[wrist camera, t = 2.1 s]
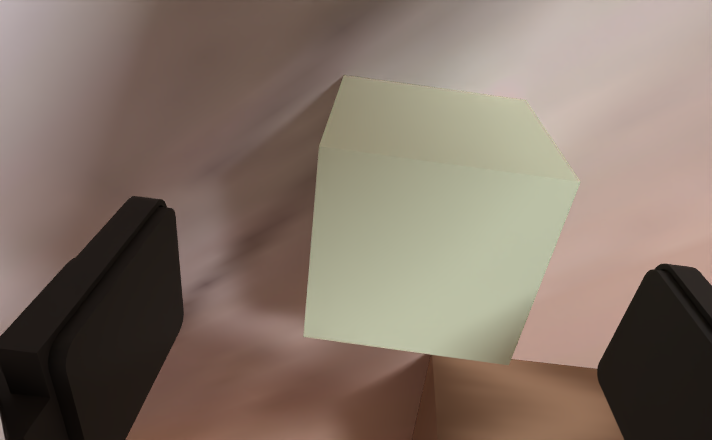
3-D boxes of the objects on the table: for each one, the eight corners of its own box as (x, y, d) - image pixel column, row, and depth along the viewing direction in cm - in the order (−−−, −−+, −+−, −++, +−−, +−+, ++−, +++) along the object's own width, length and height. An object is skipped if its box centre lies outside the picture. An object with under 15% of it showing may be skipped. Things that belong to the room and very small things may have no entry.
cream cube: (524, 98, 14) (580, 181, 10) (480, 248, 16) (509, 365, 12) (343, 74, 14) (319, 146, 10) (328, 227, 16) (302, 336, 12)
